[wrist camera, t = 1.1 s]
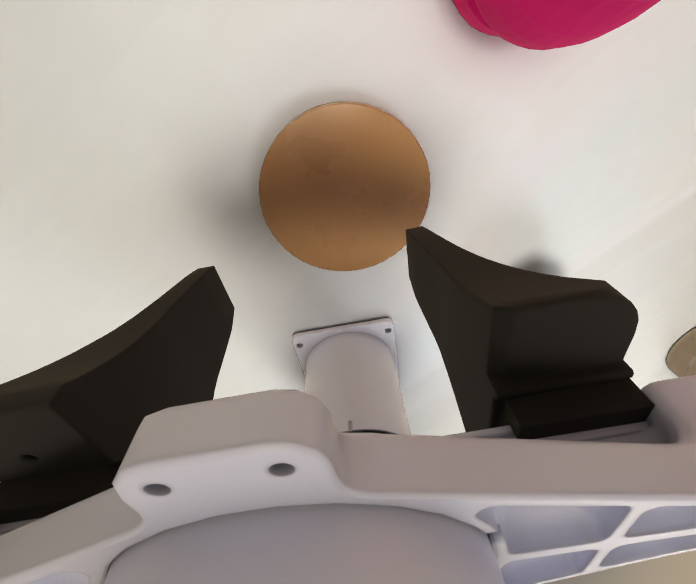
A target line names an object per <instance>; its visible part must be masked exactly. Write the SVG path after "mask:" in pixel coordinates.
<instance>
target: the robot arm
mask: <svg viewBox="0 0 696 584" xmlns="http://www.w3.org/2000/svg"><path fill="white" fill-rule="evenodd" d="M406 242H407V255H408V268H409V277H410V281H411V284H412V287H413V290H414V294H415V297H416V299H417V301H418V303H419V306H420V308H421V310H422V312H423V314H424V316H425V318H426V320H427V323H428V325H429V327H430V329H431V331H432V333H433V335H434V337H435V340H436V342H437V344H438V347H439V349H440V352H441V355H442V358H443V361H444V364H445V367H446V369H447V372H448V376H449V379H450V382H451V385H452V388H453V391H454V394H455V397H456V401H457V404H458V407H459V411H460V414H461V417H462V421H463V424H464V427H465V431H466V432H465V433H459V434H453V435H446V436H425V435H411V433H410V428H409V424H408V420H407V416H406V412H405V408H404V403H403V399H402V395H401V389H400V380H399V370H398V361H397V351H396V342H395V333H394V324H393V321H392V320H391V319H389V318H384V319H379V320H373V321H367V322H361V323H355V324H349V325H343V326H337V327H331V328H325V329H319V330H313V331H307V332H302V333H296V334H294V335H293V336H292V343H293V346H294V348H295V351H296V354H297V357H298V359H299V362H300V365H301V368H302V370H303V373H304V376H305V379H306V383H305V393H303V392H301V391H298V390H268V391H262V392H256V393H250V394H244V395H238V396H233V397H227V398H221V399H215V400H213V397H214V391H215V386H216V382H217V378H218V375H219V372H220V368H221V365H222V362H223V358H224V355H225V352H226V348H227V345H228V341H229V338H230V334H231V331H232V324H233V316H234V306H233V304H232V302H231V300H230V298H229V296H228V294H227V292H226V290H225V288H224V286H223V283H222V281H221V279H220V277H219V275H218V273H217V271H216V269H215V267H214V266H210V267H205V268H200V269H197V270H195V271H194V272H192V273H191V274H189V275H188V276H187V277H185V278H184V279H183V280H181V281H180V282H179V283H177V284H176V285H175V286H174V287H172V288H171V289H170V290H169V291H167V292H166V293H165V294H164V295H162V296H161V297H160V298H159V299H157V300H156V301H155V302H153V303H152V304H151V305H149V306H148V307H147V308H145V309H144V310H143V311H141V312H140V313H139V314H137V315H136V316H134V317H133V318H132V319H130V320H129V321H127V322H126V323H124V324H123V325H121V326H120V327H118V328H116V329H115V330H113V331H112V332H110V333H108V334H107V335H105V336H103V337H102V338H100V339H98V340H96V341H94V342H92V343H91V344H89V345H87V346H85V347H83V348H81V349H80V350H78V351H76V352H74V353H72V354H70V355H68V356H66V357H64V358H62V359H60V360H58V361H56V362H53V363H51V364H49V365H47V366H44V367H42V368H40V369H38V370H36V371H33V372H31V373H29V374H26V375H24V376H21V377H19V378H16V379H14V380H11V381H9V382H6V383H3V384H1V385H0V584H544V583H548V582H553V581H557V580H562V579H566V578H570V577H575V576H579V575H583V574H587V573H592V572H596V571H600V570H605V569H610V568H614V567H618V566H622V565H627V564H631V563H636V562H640V561H645V560H650V559H654V558H659V557H664V556H669V555H674V554H679V553H684V552H690V551H694V550H696V375H692V376H686V377H680V378H674V379H668V380H662V381H657V382H653V383H650V384H648V385H646V386H645V387H643V388H642V389H641V390H640V389H639V388H638V387H637V386H636V385H635V383H634V382H633V381H632V380H631V379H630V378H631V377H632V376H633V374H634V373H633V370H632V369H631V368H630V367H629V366H628V365H627V363H626V362H625V361H624V360H623V358H624V356H625V354H626V351H627V349H628V347H629V345H630V343H631V341H632V338H633V336H634V334H635V331H636V327H637V324H638V312H637V309H636V308H635V306H634V305H633V304H632V302H631V301H629V300H628V299H627V298H626V297H624V296H623V295H622V294H621V293H619V292H618V291H617V290H616V289H615V288H613V287H612V286H611V285H610V284H608V283H607V282H606V281H602V280H591V279H580V278H568V277H560V276H554V275H548V274H541V273H536V272H531V271H526V270H522V269H518V268H514V267H510V266H507V265H503V264H500V263H497V262H494V261H491V260H488V259H486V258H483V257H480V256H478V255H475V254H473V253H471V252H469V251H467V250H464V249H462V248H460V247H458V246H456V245H455V244H453V243H451V242H449V241H447V240H445V239H444V238H442V237H440V236H438V235H437V234H435V233H433V232H432V231H430V230H428V229H426V228H425V227H423V226H421V227H416V228H411V229H406ZM387 328H390V329H388V330H385V329H387ZM298 343H302V344H298Z"/></svg>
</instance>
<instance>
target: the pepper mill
mask: <svg viewBox="0 0 696 584" xmlns="http://www.w3.org/2000/svg"><path fill="white" fill-rule="evenodd" d="M659 1H660V0H453V2H454V4H455V5H456V7H457V9H458V11H459V13H460V14H461V16H462V17H463V18H464V19H465V20H466V21H467V22H468V23H469V24H470V25H471V26H472V27H474V28H475V29H477V30H478V31H480V32H483V33H486V34H488V35H494V36H501V37H502V38H503V39H504V40H506V41H508V42H510V43H512V44H515V45H517V46H521V47H524V48H527V49H536V50H546V49H553V48H560V47H566V46H571V45H576V44H581V43H584V42H587V41H590V40H592V39H595V38H597V37H600V36H602V35H604V34H606V33H608V32H610V31H612V30H614V29H616V28H618V27H620V26H622V25H623V24H625V23H627V22H629V21H631V20H633V19H635V18H636V17H638V16H639V15H640V14H642V13H643V12H645V11H646V10H648V9H649V8H650V7H652V6H653V5H655V4H656V3H657V2H659Z"/></svg>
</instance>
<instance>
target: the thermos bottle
mask: <svg viewBox="0 0 696 584" xmlns="http://www.w3.org/2000/svg"><path fill="white" fill-rule="evenodd" d="M667 365H668V367H669V369H670V370H671V371H672V372H673V373H674V374H676V375H677V376H678V377H679V378H680V377H686V376H692V375H696V328H694V329H692V330H691V331H689V332H688V333H687V334H685V335H684V336H683V337H682V338H681V339H680V340H678V341H677V342H676V344H675V345H674V346H673V347H672V348H671V350H670V352H669V353H668V356H667Z"/></svg>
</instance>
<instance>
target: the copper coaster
mask: <svg viewBox="0 0 696 584" xmlns="http://www.w3.org/2000/svg"><path fill="white" fill-rule="evenodd" d="M259 196H260V204H261V208H262V212H263V215H264V218H265V220H266V223H267V225H268V227H269V228H270V230H271V232H272V234H273V235H274V236H275V238H276V239H277V240H278V242H279V243H280V244H281V245H282V246H283V247H284V248H285V249H286V250H287V251H289V252H290V253H291V254H292V255H294V256H295V257H297V258H298V259H300V260H302V261H304V262H306V263H308V264H310V265H313V266H315V267H318V268H322V269H327V270H334V271H352V270H359V269H364V268H368V267H371V266H374V265H376V264H378V263H381V262H383V261H385V260H386V259H388V258H390V257H391V256H393V255H394V254H396V253H397V252H398V251H399V250H401V249H402V248H403V247H404V246H405V245H406V244H407V242H406V229H411V228H416V227H419V226H420V224H421V222H422V220H423V218H424V216H425V213H426V210H427V207H428V202H429V196H430V173H429V169H428V164H427V160H426V158H425V155H424V152H423V150H422V148H421V147H420V145H419V143H418V141H417V140H416V138H415V137H414V136H413V134H412V133H411V132H410V131H409V130H408V129H407V128H406V127H405V126H404V125H403V124H402V123H401V122H400V121H399V120H397V119H396V118H395V117H393V116H392V115H391V114H389V113H387V112H385V111H383V110H381V109H379V108H377V107H374V106H371V105H368V104H363V103H357V102H335V103H328V104H325V105H321V106H317V107H315V108H313V109H311V110H308V111H306V112H304V113H303V114H301V115H299V116H298V117H296V118H295V119H294V120H292V121H291V122H290V123H289V124H288V125H287V126H285V128H284V129H283V130H282V131H281V132H280V133H279V134H278V135H277V137H276V138H275V140H274V142H273V143H272V145H271V146H270V148H269V151H268V153H267V155H266V157H265V159H264V163H263V166H262V169H261V174H260V181H259Z"/></svg>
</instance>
